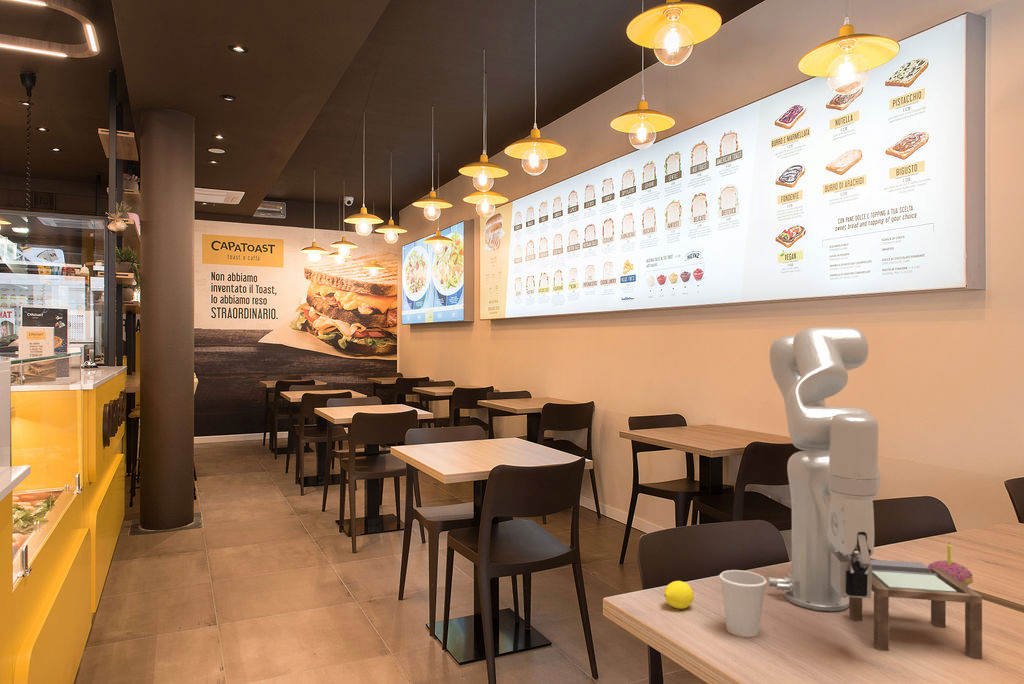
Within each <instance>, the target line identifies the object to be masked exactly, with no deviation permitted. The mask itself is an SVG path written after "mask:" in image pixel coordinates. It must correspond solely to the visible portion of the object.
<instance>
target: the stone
mask: <svg viewBox="0 0 1024 684" xmlns="http://www.w3.org/2000/svg"><path fill="white" fill-rule="evenodd" d="M852 554H859V553H857V552H854V553H852ZM858 559H859V558H853V563H855V561H858ZM846 571H849V569H848V556H847V555H846V556H845V555H843V554H841V553H840V552H831V586H832V587H833V588H834V590H835V591H836V592H837V593H838V595H839V596H841V597H848V598H849V597H855V598H862V599H870V600H871V599H872V590H871V589H872V563H870V565H869V567H868V575H867V596H865V597H864V596H850V595H847V593H846Z"/></svg>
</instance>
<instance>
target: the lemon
mask: <svg viewBox="0 0 1024 684" xmlns="http://www.w3.org/2000/svg"><path fill="white" fill-rule="evenodd" d="M663 594H664V596H663V597H664V598H665V602H666V603H667V604H668V605H669V606H670V607H671V608H674V609H678V610H679V609H680V610H684V609H686V608H689V607H690V606H691V605H692V603H693V600H694V598H695V596H694V595H695V594H694V591H693V589H692V588H691V585H689V584H688V583H687V582H685V581H681V580H675V581H672V582H670V583H668V584H667V586H666V587H665V588H664V593H663Z"/></svg>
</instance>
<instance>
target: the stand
mask: <svg viewBox="0 0 1024 684" xmlns="http://www.w3.org/2000/svg"><path fill="white" fill-rule="evenodd" d="M931 573H936V574H937V576H938V578H939V579H940V580H942V581H943V582H945V583H946V584H947V585H949V586H950V587H952V588H953V589H954V590H956V591H957V593H955V592H940V591H926V590H912V589H898V588H886V587H885V586H884V585H883V584H882V583H880V582H879V581H878V580H877V579H876V578H875V577H874V576H873V575H872V589H871V592H872V593H873V646H874V648H875V649H876V650H877V651H889V650H890V649H889V645H890V644H889V634H890V633H889V631H890V630H889V627H890V625H889V623H890V622H889V608H890V605H889V603H890V602H889V600H890V598H895V599H896V598H898V599H899V598H900V599H912V600H926V601H930V624H932V626H934V627H936V628H946V627H947V626H946V621H947V620H946V616H947V615H946V612H947V611H946V605H947V604H946V603H947V602H953V603H964V605H965V606H964V622H965V623H964V653H965V654H966V655H967V656H968V657H969V656H970V657H974V658H973V659H981V658H982V659H983V596H982V595H981V594H979V593H977V592H976V591H974V590H973V589H972V588H970V587H969V586H968V587H967V586H966V585H964V584H963V583H961V582H960V581H958V580H957V579H955V578H954V577H953V576H951V575H950V574H948V573H947V572H945V571H944V570H942V569H937V568H931ZM848 598H849V607H848V608H849V610H848V611H849V614H848V615H849V618H850V619H851V620H852V621H861V622H862V621H863V598H855V597H848ZM970 657H969V658H970Z"/></svg>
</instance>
